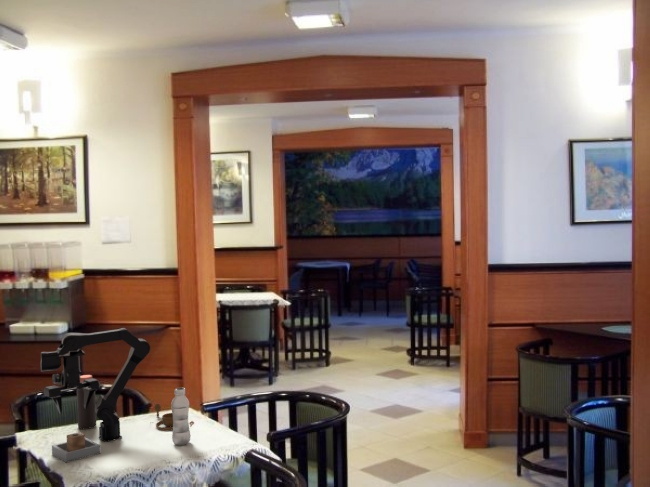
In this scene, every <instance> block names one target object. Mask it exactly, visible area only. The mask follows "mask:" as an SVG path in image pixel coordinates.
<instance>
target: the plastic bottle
mask: <svg viewBox="0 0 650 487" xmlns="http://www.w3.org/2000/svg"><path fill="white" fill-rule="evenodd" d="M174 395H175V396H174V397H173V398H172V401H171V404H170V407H171V413H172V414H173V430H172V434H171V439H172V443H173V444H174V445H176V446H183V445H187V444H189V443H190V441H191V436H192V435H191V430H190V426H189V425H190V424H189V423H190V422H189V409H190V401H189V400H190V399H188V398H187V396H186V388H185V387H176V388H174Z"/></svg>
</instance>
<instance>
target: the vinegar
mask: <svg viewBox="0 0 650 487" xmlns="http://www.w3.org/2000/svg"><path fill="white" fill-rule="evenodd" d="M91 378H93V375H92V374H83V375H82V374H81V375H80V382H82V383H83V381H84V380H86V379H91ZM96 402H97V401H96V391H94V393H93V395H92V397H91V399H90V401H89V404H88V406H87V408H86V409H85V408H84V391H83V388H81V389H76V404H77V405H76V406H77V410H76V411H77V427H78V428H79V429H80V430H88V429H89V430H90V429H93V428H95V427H96V426H97V415H96V412H95V407H96V406H95V403H96Z"/></svg>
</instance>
